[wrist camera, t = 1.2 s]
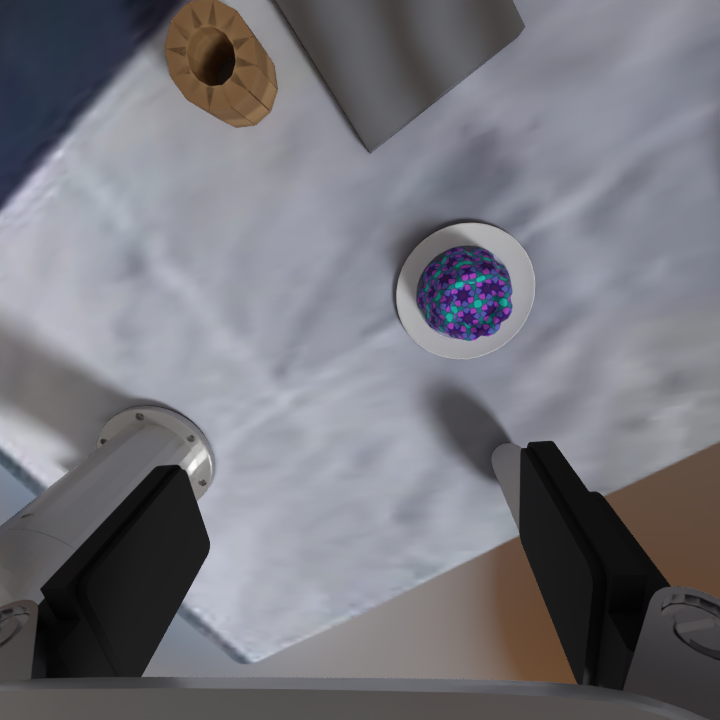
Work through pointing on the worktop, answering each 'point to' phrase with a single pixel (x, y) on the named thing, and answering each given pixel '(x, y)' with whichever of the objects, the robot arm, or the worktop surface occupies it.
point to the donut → (508, 475)
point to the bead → (220, 63)
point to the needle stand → (398, 52)
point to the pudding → (466, 291)
